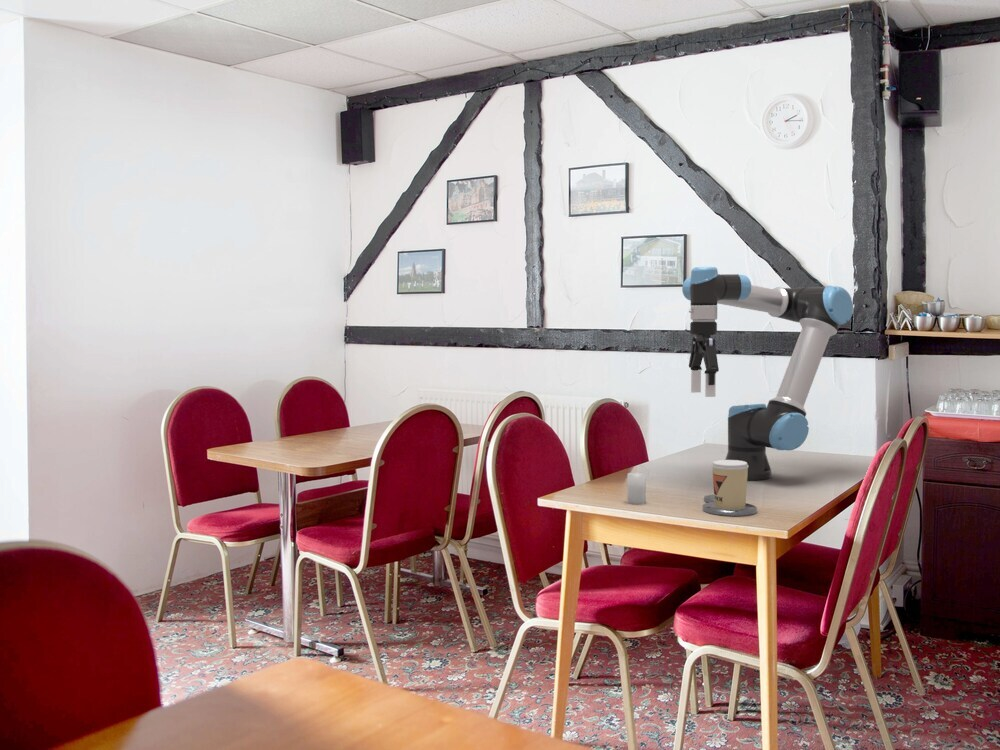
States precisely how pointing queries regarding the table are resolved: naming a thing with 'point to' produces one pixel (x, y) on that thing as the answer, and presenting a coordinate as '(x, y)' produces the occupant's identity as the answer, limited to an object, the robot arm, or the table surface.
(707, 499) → the flange small
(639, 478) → the grey cylinder
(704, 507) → the disc
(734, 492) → the coffee cup
